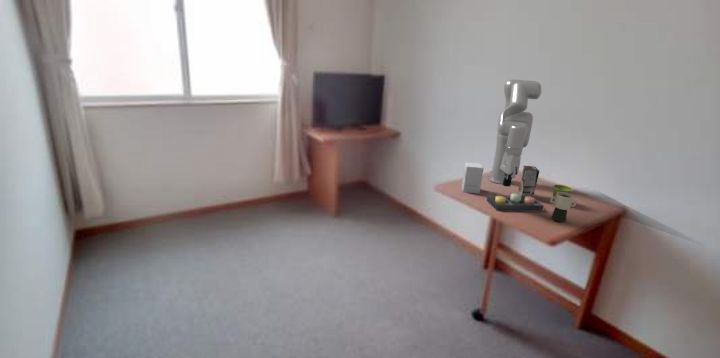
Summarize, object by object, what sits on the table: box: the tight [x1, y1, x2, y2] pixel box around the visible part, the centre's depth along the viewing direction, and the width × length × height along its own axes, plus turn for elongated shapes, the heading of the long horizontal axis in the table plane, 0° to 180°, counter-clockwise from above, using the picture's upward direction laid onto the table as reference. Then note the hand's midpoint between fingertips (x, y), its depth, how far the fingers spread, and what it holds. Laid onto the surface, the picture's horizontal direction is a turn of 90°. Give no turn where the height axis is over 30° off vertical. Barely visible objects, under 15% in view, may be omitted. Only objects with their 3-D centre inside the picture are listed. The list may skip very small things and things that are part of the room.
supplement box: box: [461, 161, 484, 195], centre depth 206 cm, size 9×9×15 cm
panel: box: [486, 195, 544, 212], centre depth 190 cm, size 12×24×3 cm, turn 96°
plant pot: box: [552, 184, 573, 201], centre depth 197 cm, size 9×9×9 cm
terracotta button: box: [524, 196, 537, 203], centre depth 191 cm, size 5×5×4 cm
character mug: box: [549, 192, 577, 223], centre depth 175 cm, size 11×7×13 cm, turn 71°
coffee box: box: [517, 165, 540, 197], centre depth 203 cm, size 9×6×16 cm
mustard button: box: [495, 195, 506, 203], centre depth 189 cm, size 5×5×4 cm
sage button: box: [510, 192, 522, 203], centre depth 189 cm, size 5×5×4 cm
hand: (506, 185), depth 186 cm, fingers closed
